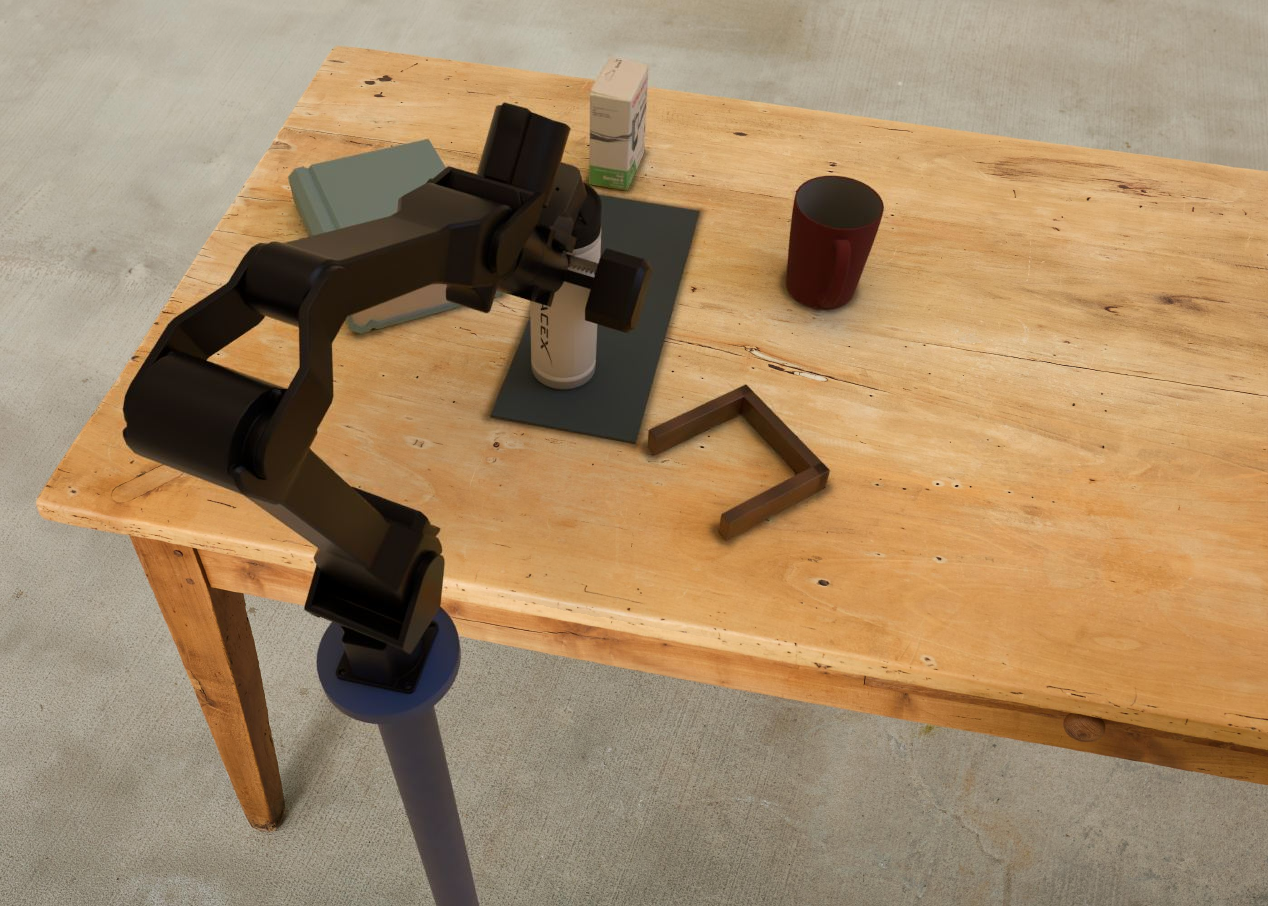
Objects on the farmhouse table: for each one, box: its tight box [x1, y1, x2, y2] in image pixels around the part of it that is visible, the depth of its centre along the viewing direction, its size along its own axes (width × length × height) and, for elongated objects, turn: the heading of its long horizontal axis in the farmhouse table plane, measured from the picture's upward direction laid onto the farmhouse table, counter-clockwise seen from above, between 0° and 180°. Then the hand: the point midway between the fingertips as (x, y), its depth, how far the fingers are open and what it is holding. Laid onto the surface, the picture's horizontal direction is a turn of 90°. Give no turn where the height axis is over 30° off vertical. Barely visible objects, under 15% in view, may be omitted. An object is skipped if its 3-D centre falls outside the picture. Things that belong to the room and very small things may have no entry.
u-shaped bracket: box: [646, 384, 831, 541], centre depth 96 cm, size 11×12×2 cm
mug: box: [785, 175, 885, 310], centre depth 108 cm, size 12×9×11 cm
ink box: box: [588, 57, 650, 191], centre depth 121 cm, size 9×5×12 cm, turn 166°
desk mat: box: [489, 194, 700, 445], centre depth 110 cm, size 36×14×1 cm, turn 168°
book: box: [287, 138, 504, 335], centre depth 113 cm, size 23×16×5 cm
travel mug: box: [529, 181, 602, 389], centre depth 96 cm, size 6×7×20 cm
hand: (567, 279), depth 97 cm, fingers open, 9 cm apart
